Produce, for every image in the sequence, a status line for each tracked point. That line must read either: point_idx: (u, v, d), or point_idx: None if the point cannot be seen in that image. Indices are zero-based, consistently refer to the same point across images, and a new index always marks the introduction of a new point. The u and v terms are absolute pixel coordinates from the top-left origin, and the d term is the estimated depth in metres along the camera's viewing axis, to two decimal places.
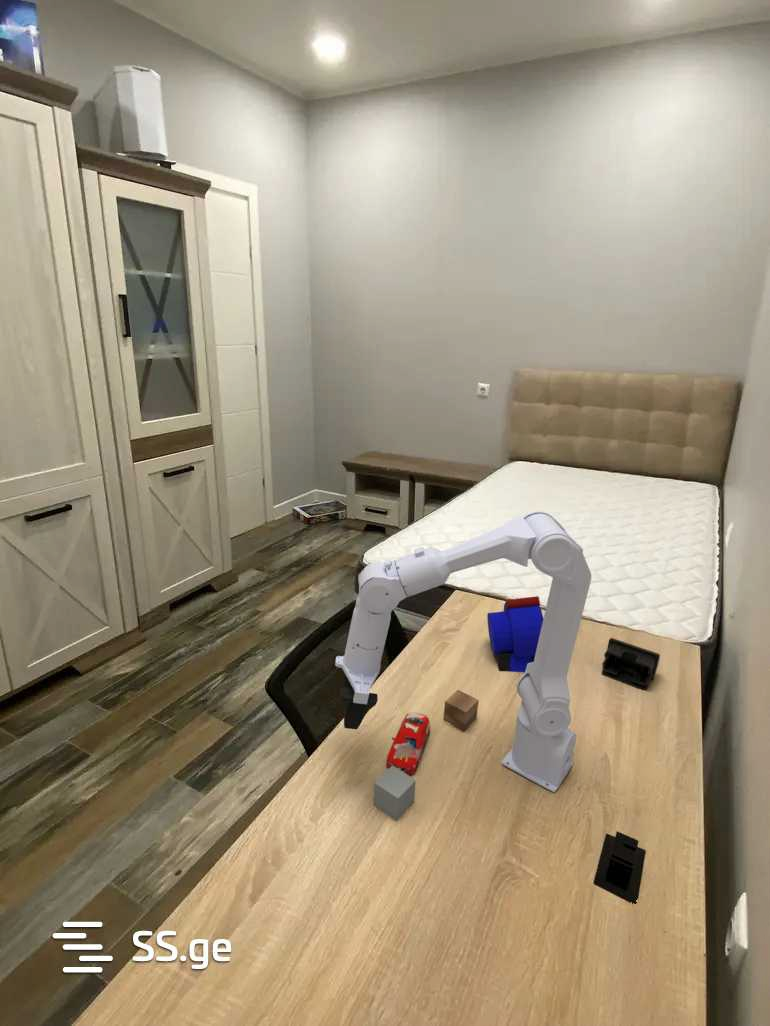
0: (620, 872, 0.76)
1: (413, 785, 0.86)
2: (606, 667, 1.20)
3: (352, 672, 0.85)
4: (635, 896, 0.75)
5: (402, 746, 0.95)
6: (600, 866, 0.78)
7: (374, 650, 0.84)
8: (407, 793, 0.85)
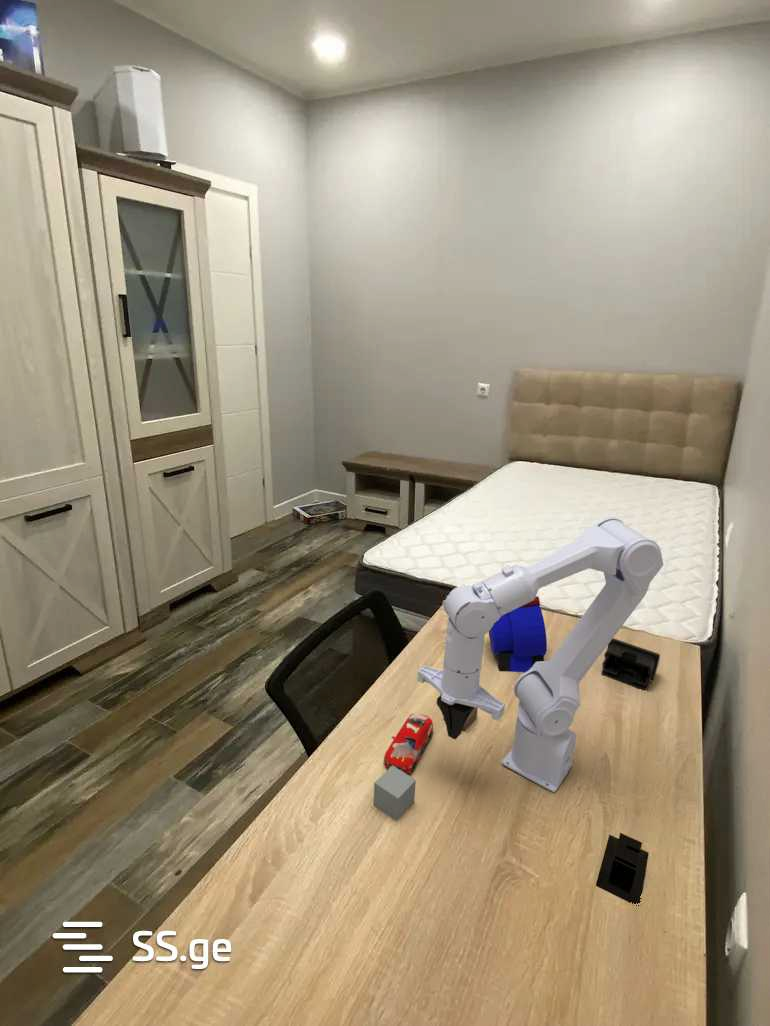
0: (623, 874, 0.76)
1: (413, 785, 0.86)
2: (606, 667, 1.20)
3: (470, 699, 0.85)
4: (638, 898, 0.74)
5: (401, 745, 0.95)
6: (603, 868, 0.78)
7: (480, 667, 0.85)
8: (407, 793, 0.85)
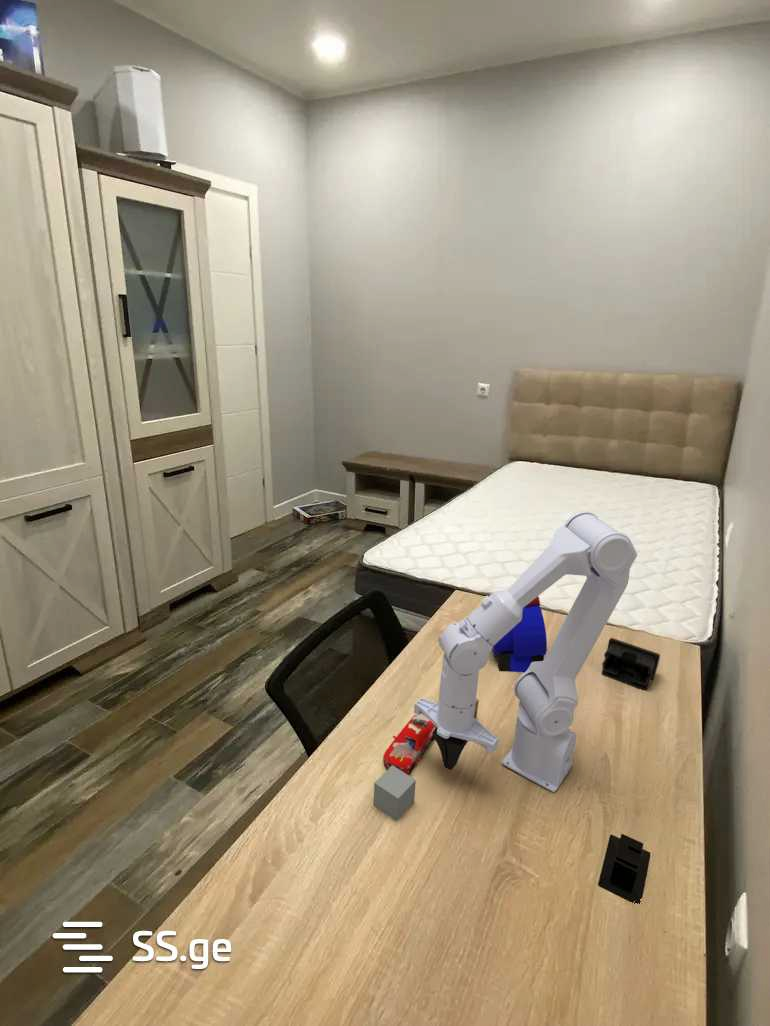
0: (624, 875, 0.76)
1: (413, 785, 0.86)
2: (606, 667, 1.20)
3: (464, 732, 0.87)
4: (639, 899, 0.74)
5: (401, 745, 0.95)
6: (604, 868, 0.78)
7: (475, 701, 0.88)
8: (407, 793, 0.85)
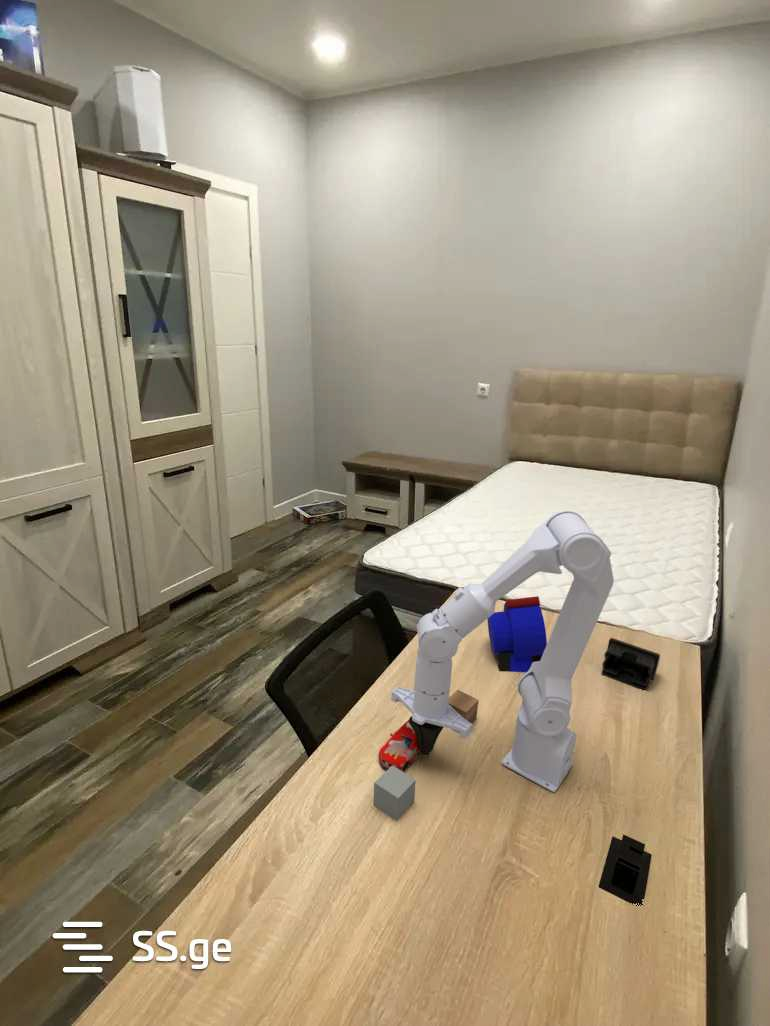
0: (626, 875, 0.76)
1: (413, 785, 0.86)
2: (606, 667, 1.20)
3: (439, 718, 0.90)
4: (641, 900, 0.74)
5: (396, 743, 0.95)
6: (606, 869, 0.78)
7: (449, 688, 0.90)
8: (407, 793, 0.85)
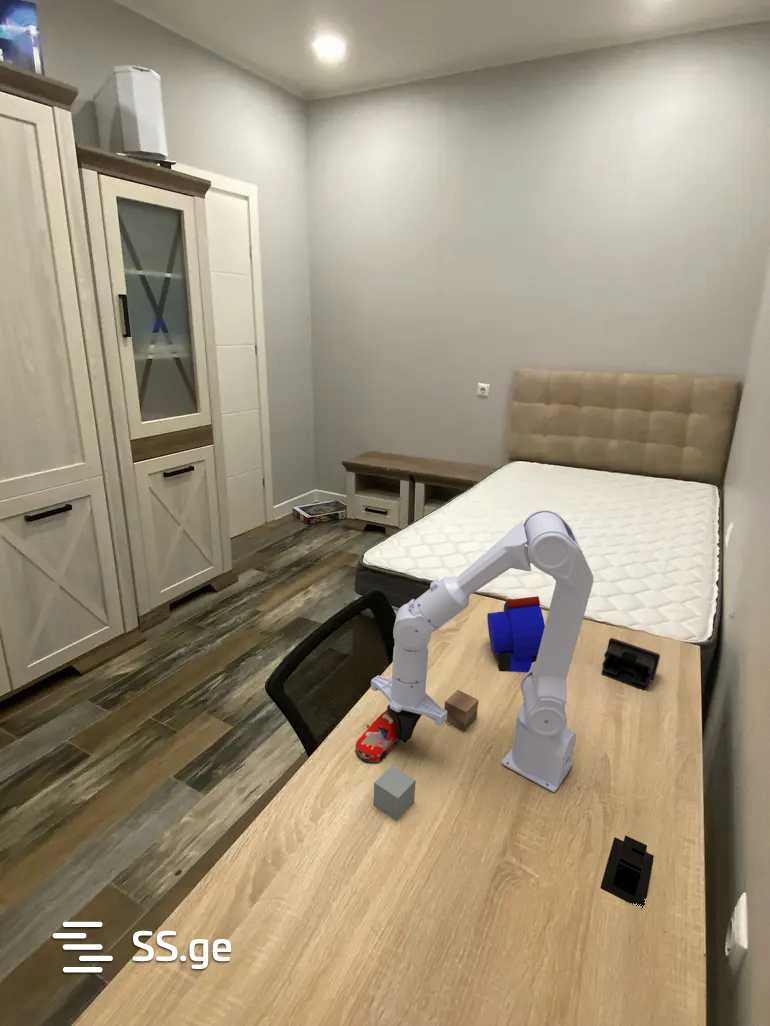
0: (628, 877, 0.76)
1: (413, 785, 0.86)
2: (606, 667, 1.20)
3: (415, 706, 0.92)
4: (643, 901, 0.74)
5: (373, 734, 0.97)
6: (608, 870, 0.78)
7: None
8: (407, 793, 0.85)
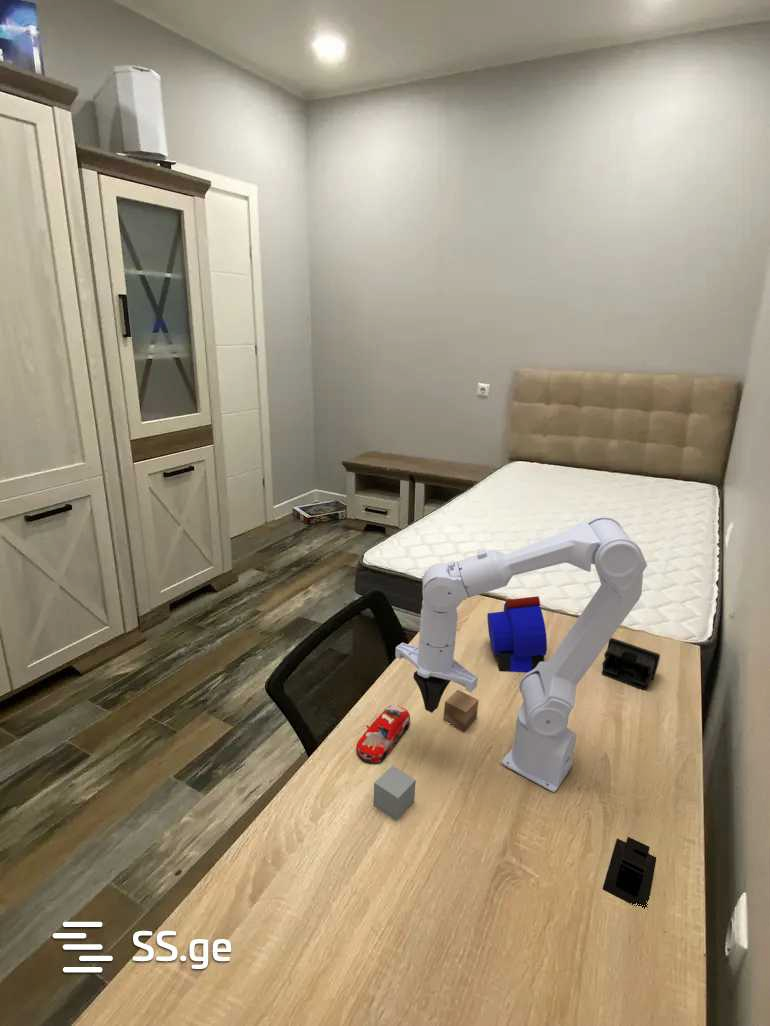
0: (630, 878, 0.76)
1: (413, 785, 0.86)
2: (606, 667, 1.20)
3: (444, 672, 0.88)
4: (645, 902, 0.74)
5: (373, 735, 0.97)
6: (610, 871, 0.78)
7: (454, 641, 0.89)
8: (407, 793, 0.85)
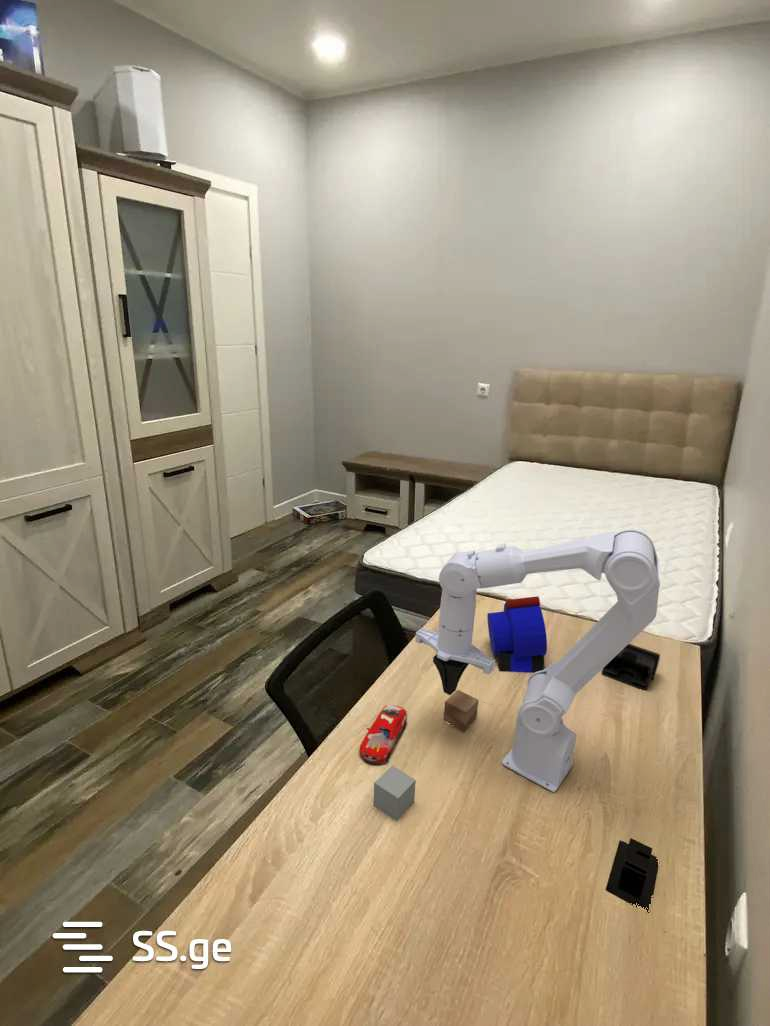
0: (633, 879, 0.75)
1: (413, 785, 0.86)
2: (606, 667, 1.20)
3: (463, 655, 0.93)
4: (648, 904, 0.74)
5: (375, 736, 0.97)
6: (613, 873, 0.77)
7: None
8: (407, 793, 0.85)
